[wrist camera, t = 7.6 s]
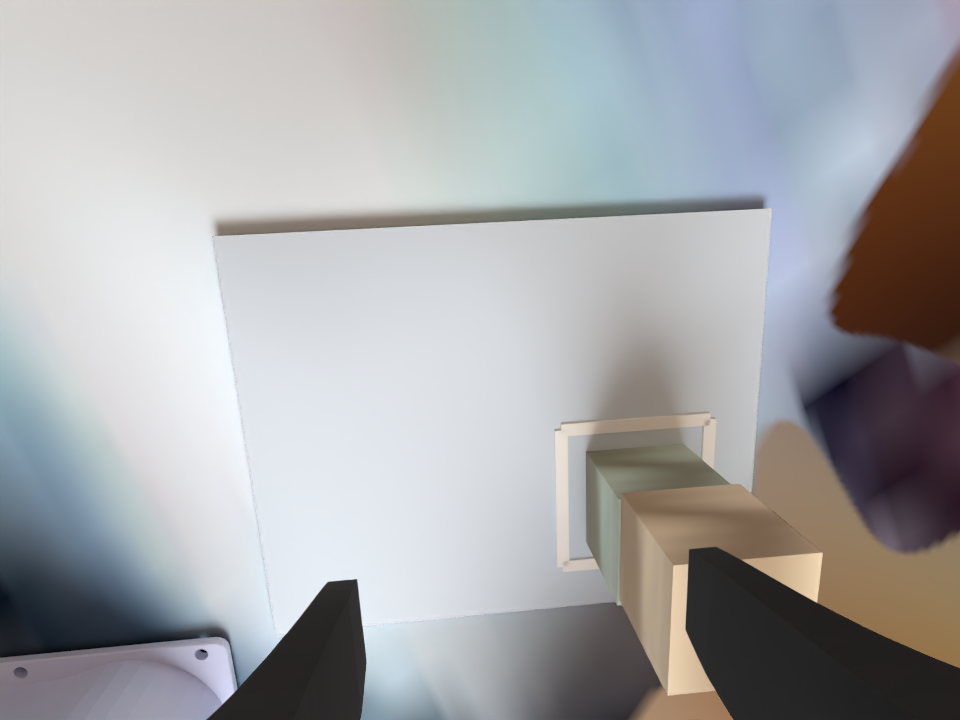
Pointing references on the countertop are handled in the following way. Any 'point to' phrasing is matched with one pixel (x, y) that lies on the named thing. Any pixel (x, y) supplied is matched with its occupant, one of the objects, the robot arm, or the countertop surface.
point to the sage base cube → (633, 474)
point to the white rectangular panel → (480, 395)
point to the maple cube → (665, 554)
